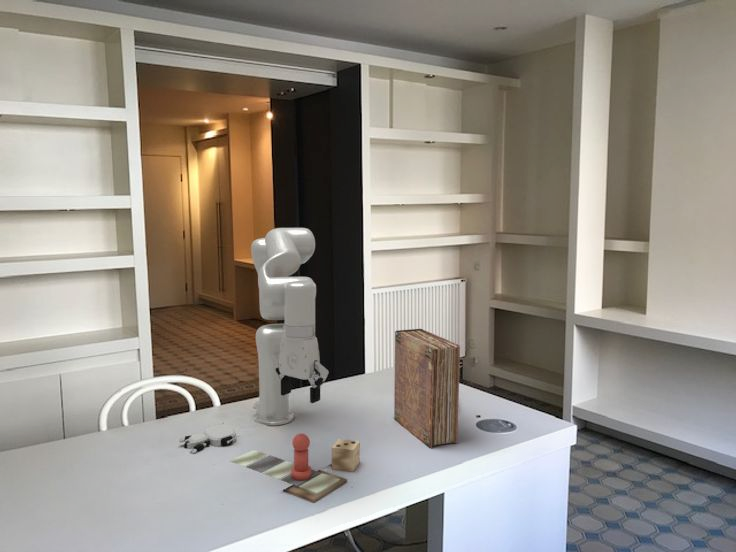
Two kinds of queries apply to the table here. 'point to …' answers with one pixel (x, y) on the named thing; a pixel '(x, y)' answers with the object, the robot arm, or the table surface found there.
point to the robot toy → (210, 438)
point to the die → (345, 455)
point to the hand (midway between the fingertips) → (300, 397)
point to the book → (427, 386)
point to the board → (307, 489)
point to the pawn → (301, 458)
